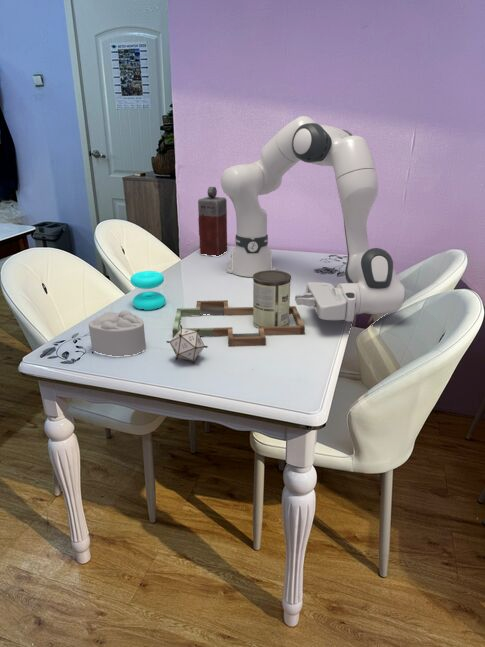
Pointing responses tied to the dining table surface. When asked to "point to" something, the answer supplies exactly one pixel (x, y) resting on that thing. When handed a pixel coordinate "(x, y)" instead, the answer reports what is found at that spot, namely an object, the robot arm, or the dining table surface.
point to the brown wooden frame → (233, 339)
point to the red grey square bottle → (212, 223)
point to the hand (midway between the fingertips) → (295, 299)
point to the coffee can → (271, 298)
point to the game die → (187, 344)
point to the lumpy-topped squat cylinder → (117, 334)
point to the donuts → (147, 282)
